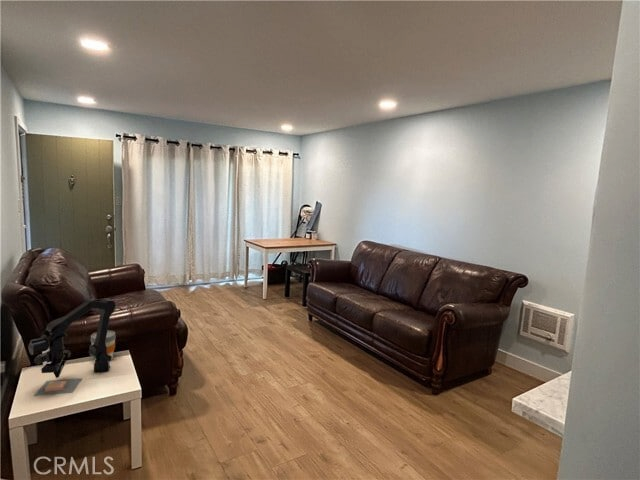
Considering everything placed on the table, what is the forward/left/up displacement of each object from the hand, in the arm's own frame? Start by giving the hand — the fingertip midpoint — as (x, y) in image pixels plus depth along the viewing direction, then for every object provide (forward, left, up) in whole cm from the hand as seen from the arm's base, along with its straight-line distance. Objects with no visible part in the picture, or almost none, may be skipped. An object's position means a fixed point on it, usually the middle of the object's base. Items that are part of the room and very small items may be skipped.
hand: (57, 377), depth 180 cm
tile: (0, -1, -4) cm, 4 cm away
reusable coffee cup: (-13, -28, -5) cm, 31 cm away
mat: (-1, +1, -5) cm, 5 cm away
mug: (+11, -24, -5) cm, 27 cm away
